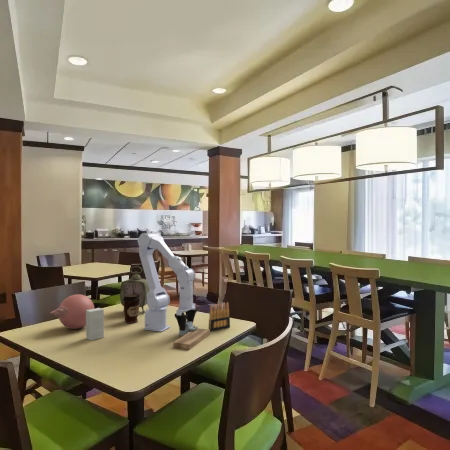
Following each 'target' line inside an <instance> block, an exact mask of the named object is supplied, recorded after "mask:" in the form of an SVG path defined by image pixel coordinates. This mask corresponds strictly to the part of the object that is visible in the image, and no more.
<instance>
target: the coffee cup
mask: <svg viewBox="0 0 450 450" xmlns="http://www.w3.org/2000/svg"><path fill="white" fill-rule="evenodd" d="M139 297H140V295H137V294H129V295H125V297H124V298H123V304H124V306H123V310H124V312H123V315H124V317H123V318H124V323H125V324H135V323H137V322H139V318H138V316H139V315H140V314H139V313H140V312H139V311H140V307H139V301H140V298H139Z"/></svg>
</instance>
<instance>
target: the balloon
mask: <svg viewBox="0 0 450 450" xmlns="http://www.w3.org/2000/svg"><path fill="white" fill-rule="evenodd" d="M90 309H95V304H94V302H93V300H92V299H91V298H90V297H88V296H87V295H84V294H80V293H78V294H72V295H69V296H67V297H66V298H64V300H62V302H61V303H60V304H59V307H57V308H56V309H55V310H53V311H50V312H49V313H50V315H54V316H55V317H56V318H58V320H59V322H60V323H61V325H63V326H64V327H66V328H67V329H70V330H72V329H73V330H78V329H81V328H84V327H86V310H90Z"/></svg>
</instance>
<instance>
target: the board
mask: <svg viewBox="0 0 450 450" xmlns="http://www.w3.org/2000/svg"><path fill="white" fill-rule="evenodd" d="M210 335H211V331H210V330H209V328H208V329H207V328H206V329H205V328H199V327H198V328H197V329H196V330H194V331H192V330H191V331H190V332H188V333H187V334H185V335H181V337H179V338H178V339H176V340H175V341H173V346H172V347H173V348H176V349H180V350H181V349H182V350H192V349H193V348H194V347H195V346H196V345H198V344H199V343H200V342H201V341H203V340H205V339H206V338H207V337H208V336H210Z"/></svg>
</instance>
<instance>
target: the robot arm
mask: <svg viewBox="0 0 450 450" xmlns="http://www.w3.org/2000/svg"><path fill="white" fill-rule="evenodd" d="M137 244H138V253H139V258H140V262H141V266H142V270H143V274H145V275H144V276H145V279H146V280H147V283H148V287H149V292H148V294H147V304H146V306H147V307H148V308H147V309H146V310H145V313H144V328H143V330H146V331H153V332H165V331H166V330H167V329H169V328H171V326H170V325H167V318H168V317H167V316H168V315H167V308H168V306H169V304H170V301H171V299H170V295H169V294H168V293H167V290H166V289H165V288H164V287H162V284H161V281H160V278H159V274H158V272H157V270H158V269H157V268H156V264H155V261H154V257H153V253H154V251H155V250H157V251H159V253H160V254H161V255H162V256H163V257H164V258H165V259H166V260H167V261H168V266H169V268H170V269H171V270H172V271H173V272H174V274H175V275H176V280H177V282H178V286H179V307H178V308H177V310H175V311H176V312H175V313H174V318H175V319H176V321H177V323H178V330H179V329H180V330H181V331H184V330H185V326H186V321H190V322H193V323H194V322H195V321H194V320H195V316H196V314H197V312H198V309H197V308H196V303H194V297H193V296H194V286H193V285H194V280H195V278H196V272H195V270H194V269H193V268H191V267H190V268H189V266H188V265H187V264H185V263H184V261H183V259H182V258H181V257H179V256H178V255H174V253H173V252H172V250H171V249H170V248H169V247H168V245H167V243H165V240H164V237H163V236H162V235H161V234H160V233H159V232H150V233H149V232H148V233H147V232H142V233H141V234H140V235H139V236H138V239H137Z"/></svg>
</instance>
